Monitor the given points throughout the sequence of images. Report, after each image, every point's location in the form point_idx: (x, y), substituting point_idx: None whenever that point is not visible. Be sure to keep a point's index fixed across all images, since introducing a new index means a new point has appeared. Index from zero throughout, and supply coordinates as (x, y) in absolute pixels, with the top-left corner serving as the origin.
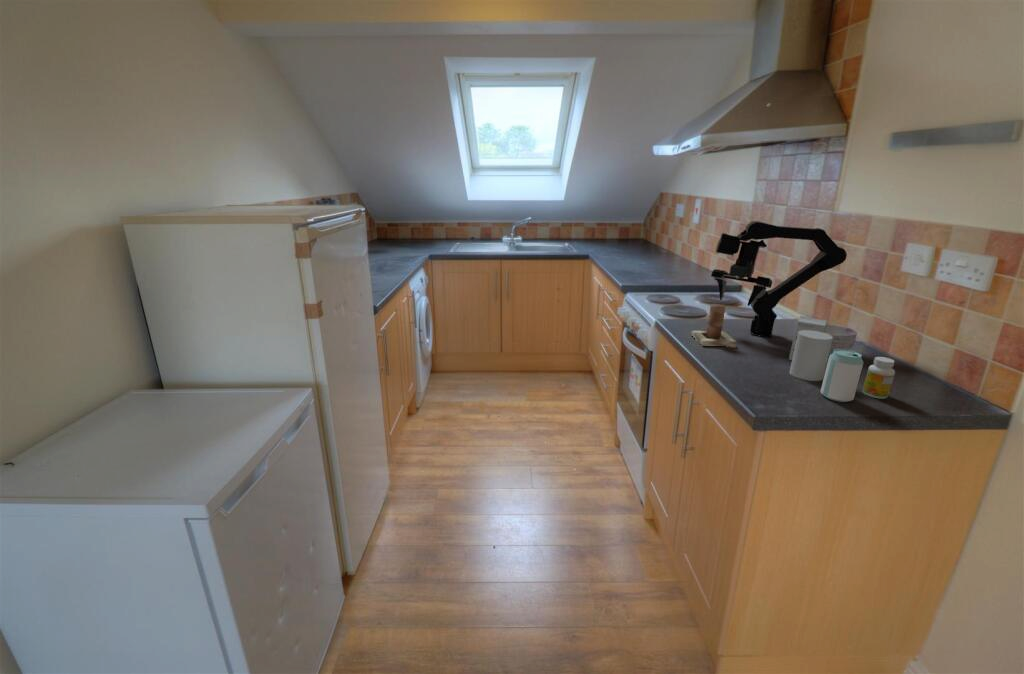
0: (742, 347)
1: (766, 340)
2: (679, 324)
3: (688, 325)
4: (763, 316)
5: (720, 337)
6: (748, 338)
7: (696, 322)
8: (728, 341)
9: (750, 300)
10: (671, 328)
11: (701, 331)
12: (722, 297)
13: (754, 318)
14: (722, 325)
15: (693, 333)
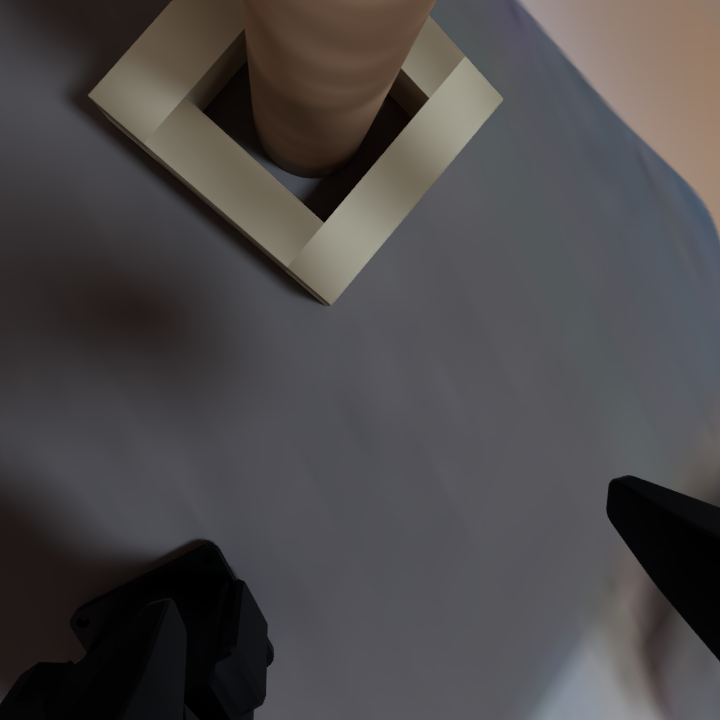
0: (75, 170)
1: (63, 520)
2: (660, 325)
3: (613, 358)
4: (56, 691)
5: (254, 112)
6: (181, 443)
7: (612, 473)
8: (138, 39)
9: (95, 696)
10: (651, 184)
11: (441, 142)
12: (639, 543)
13: (211, 674)
14: (247, 46)
15: (462, 63)
